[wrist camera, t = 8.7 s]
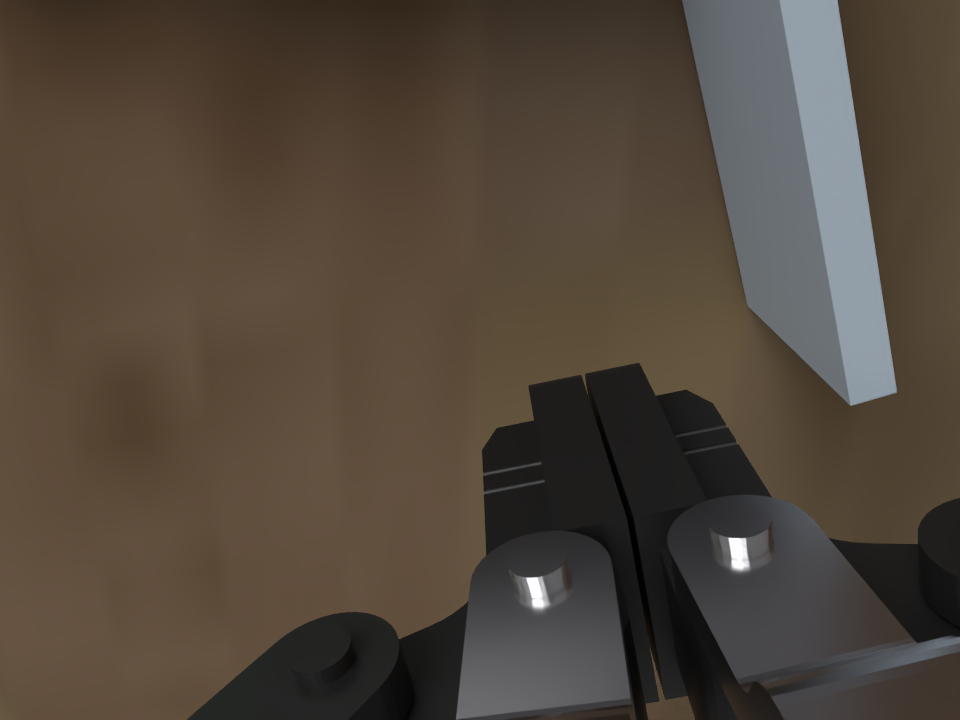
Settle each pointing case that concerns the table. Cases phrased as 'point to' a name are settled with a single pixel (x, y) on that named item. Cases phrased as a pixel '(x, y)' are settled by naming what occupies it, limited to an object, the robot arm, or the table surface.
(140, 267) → the table surface
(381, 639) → the robot arm
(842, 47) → the side door
